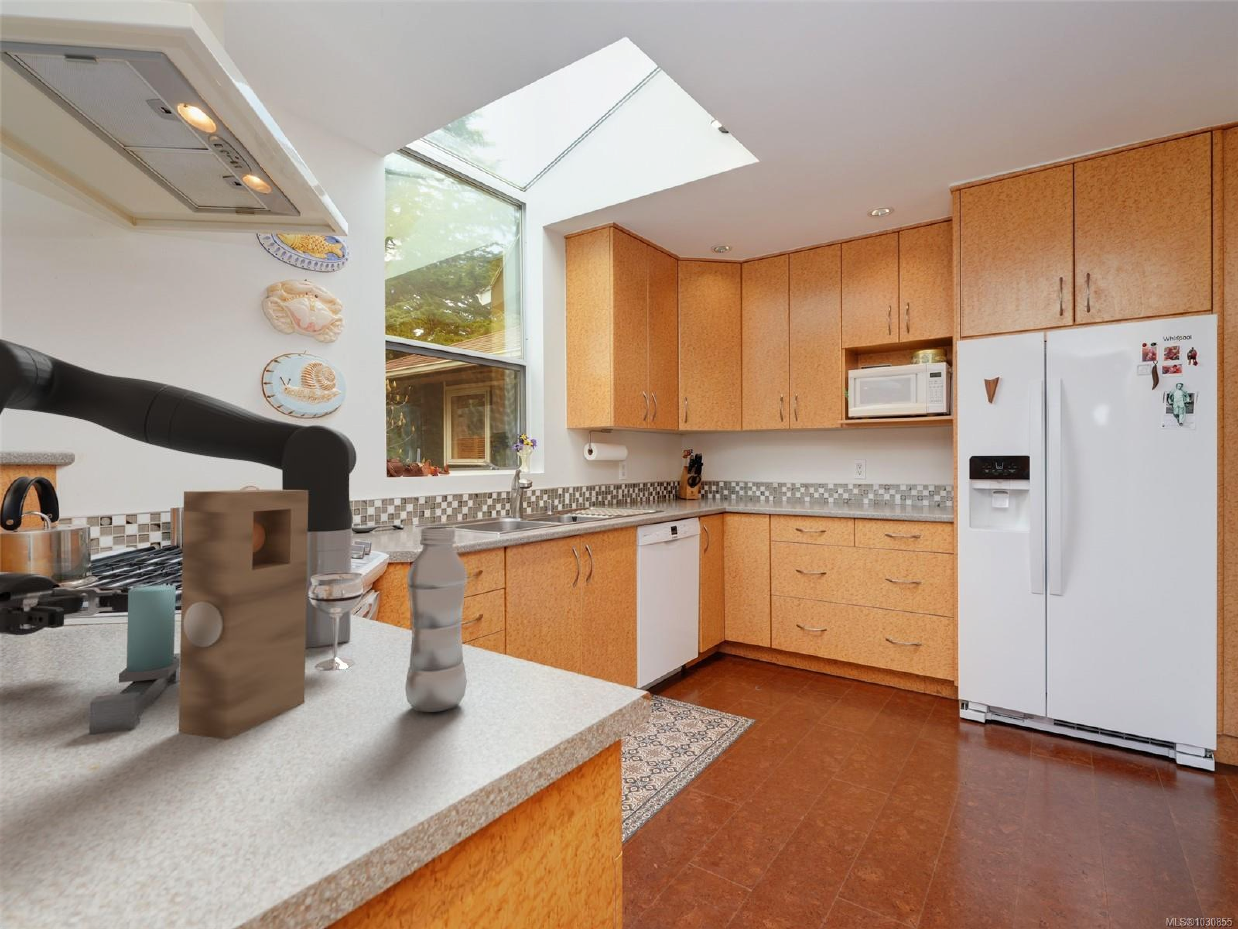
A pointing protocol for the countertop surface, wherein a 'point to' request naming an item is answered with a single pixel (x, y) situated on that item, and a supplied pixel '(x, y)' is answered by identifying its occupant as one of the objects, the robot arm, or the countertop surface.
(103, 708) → the rail
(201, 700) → the wooden window block
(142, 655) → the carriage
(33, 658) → the countertop surface
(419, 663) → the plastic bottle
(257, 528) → the plunger
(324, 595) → the wineglass
